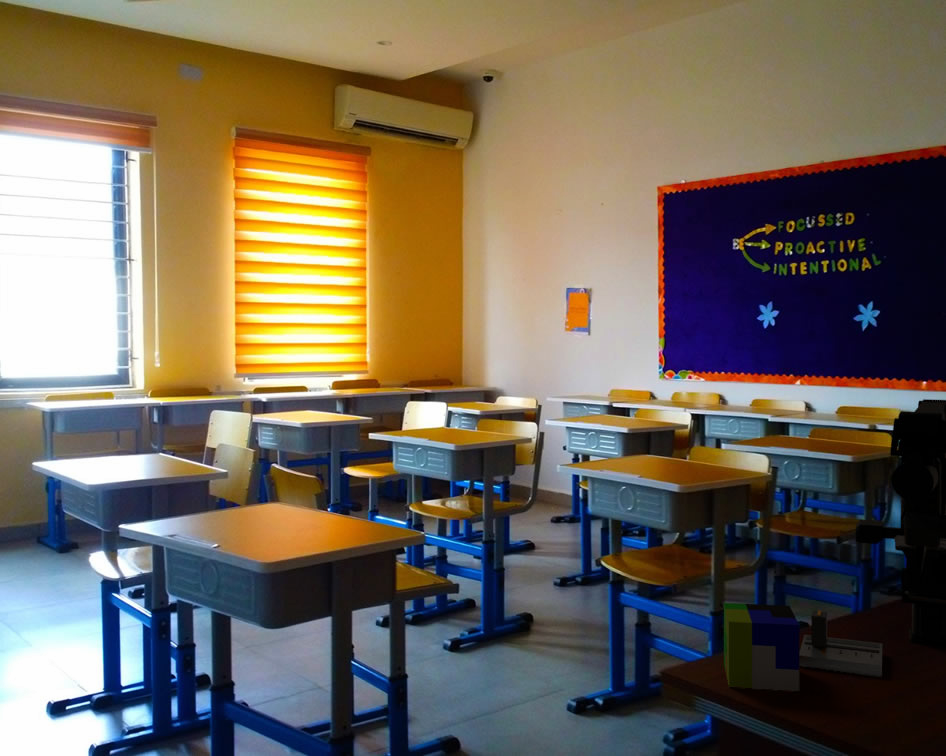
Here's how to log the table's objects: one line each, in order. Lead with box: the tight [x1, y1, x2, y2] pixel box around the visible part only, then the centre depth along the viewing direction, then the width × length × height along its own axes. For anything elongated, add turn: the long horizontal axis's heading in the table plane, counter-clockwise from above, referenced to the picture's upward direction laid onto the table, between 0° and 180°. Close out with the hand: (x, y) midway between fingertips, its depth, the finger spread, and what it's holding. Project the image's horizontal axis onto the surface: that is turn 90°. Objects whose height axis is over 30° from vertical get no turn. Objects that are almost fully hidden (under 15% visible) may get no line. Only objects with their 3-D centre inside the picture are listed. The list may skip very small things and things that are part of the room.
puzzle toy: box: [723, 602, 800, 692], centre depth 138 cm, size 10×10×10 cm
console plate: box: [799, 634, 883, 678], centre depth 145 cm, size 11×12×2 cm
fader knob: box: [810, 610, 828, 647], centre depth 147 cm, size 3×2×5 cm
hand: (920, 589), depth 143 cm, fingers closed
